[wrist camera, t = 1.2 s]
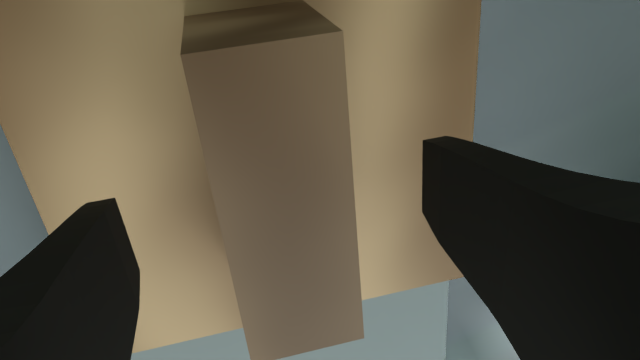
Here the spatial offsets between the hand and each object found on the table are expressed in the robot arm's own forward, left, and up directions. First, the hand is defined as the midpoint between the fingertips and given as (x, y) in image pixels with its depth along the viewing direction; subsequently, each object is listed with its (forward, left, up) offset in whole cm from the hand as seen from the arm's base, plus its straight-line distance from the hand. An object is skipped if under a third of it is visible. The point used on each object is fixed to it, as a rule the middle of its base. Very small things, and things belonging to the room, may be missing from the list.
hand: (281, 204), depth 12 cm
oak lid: (0, 0, -4) cm, 4 cm away
